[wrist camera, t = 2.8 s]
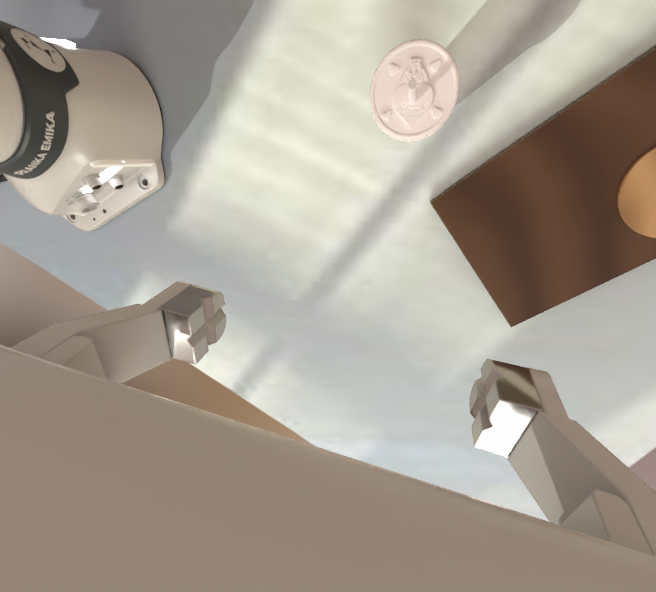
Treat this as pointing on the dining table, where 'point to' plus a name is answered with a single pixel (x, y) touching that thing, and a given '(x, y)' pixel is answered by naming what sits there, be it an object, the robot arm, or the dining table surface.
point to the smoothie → (414, 90)
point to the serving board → (564, 200)
